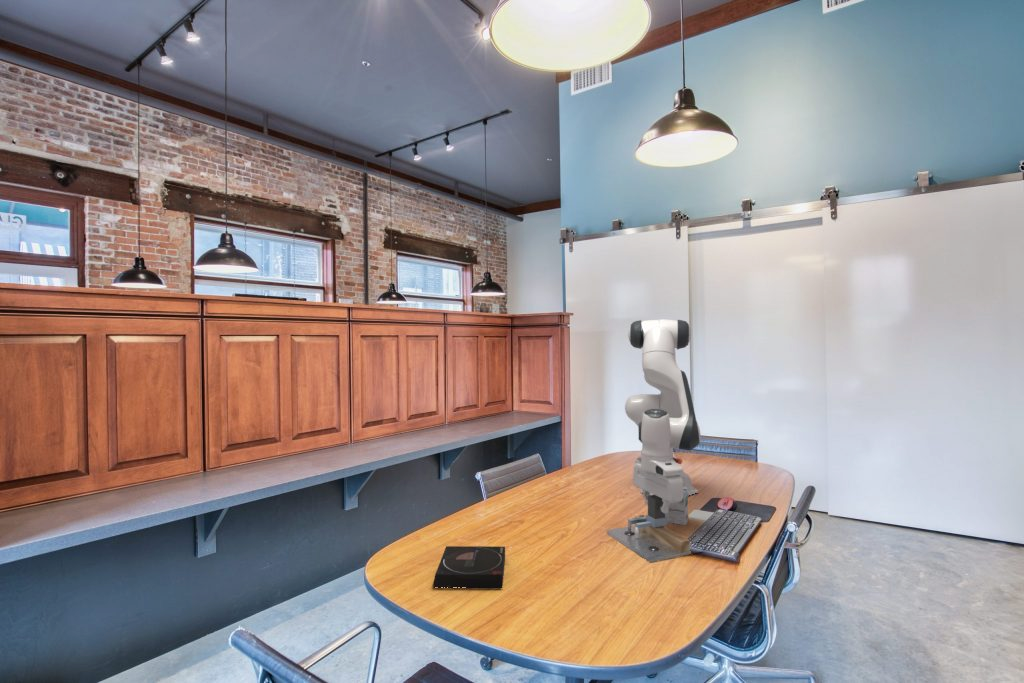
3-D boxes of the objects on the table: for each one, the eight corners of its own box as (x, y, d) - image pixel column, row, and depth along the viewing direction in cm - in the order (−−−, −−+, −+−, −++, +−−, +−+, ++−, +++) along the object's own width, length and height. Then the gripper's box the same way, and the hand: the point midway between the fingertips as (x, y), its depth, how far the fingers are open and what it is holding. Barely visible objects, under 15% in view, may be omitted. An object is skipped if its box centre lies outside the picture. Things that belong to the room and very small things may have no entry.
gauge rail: (642, 524, 159) (642, 511, 159) (689, 551, 139) (689, 536, 139) (619, 528, 156) (619, 514, 156) (663, 556, 136) (663, 541, 136)
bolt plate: (654, 525, 161) (654, 521, 161) (702, 552, 140) (702, 548, 140) (606, 533, 155) (606, 529, 155) (649, 562, 134) (649, 558, 134)
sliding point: (658, 530, 153) (658, 494, 153) (666, 535, 149) (666, 497, 149) (631, 535, 150) (631, 497, 150) (639, 540, 146) (639, 501, 146)
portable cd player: (444, 560, 137) (443, 546, 137) (505, 560, 137) (505, 546, 137) (432, 590, 121) (432, 574, 121) (502, 591, 120) (502, 574, 120)
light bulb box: (688, 519, 167) (688, 487, 166) (686, 526, 160) (686, 492, 160) (655, 514, 171) (655, 483, 171) (652, 521, 165) (652, 489, 165)
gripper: (627, 456, 159) (628, 499, 159) (669, 472, 140) (669, 521, 140) (644, 455, 161) (644, 497, 161) (686, 470, 142) (687, 518, 142)
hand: (656, 508), depth 151 cm, fingers open, 6 cm apart
